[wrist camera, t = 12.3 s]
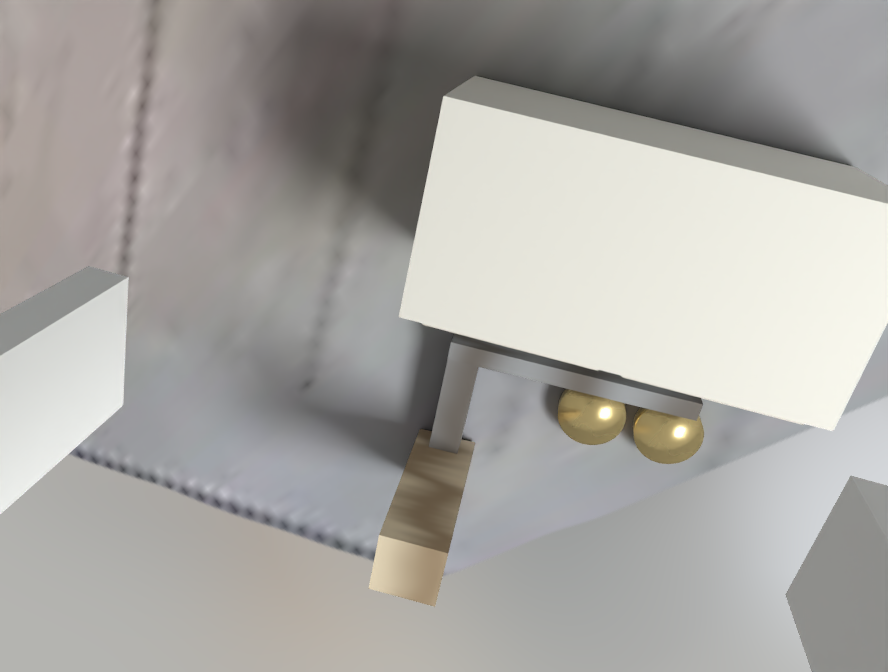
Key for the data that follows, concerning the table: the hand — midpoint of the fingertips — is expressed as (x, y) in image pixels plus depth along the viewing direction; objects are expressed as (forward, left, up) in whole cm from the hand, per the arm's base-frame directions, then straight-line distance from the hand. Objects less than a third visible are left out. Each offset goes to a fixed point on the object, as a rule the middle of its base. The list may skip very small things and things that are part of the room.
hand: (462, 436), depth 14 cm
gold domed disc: (+13, -16, -35) cm, 40 cm away
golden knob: (+8, -16, -35) cm, 39 cm away
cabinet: (+6, -3, -34) cm, 35 cm away
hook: (+5, -19, -34) cm, 40 cm away
